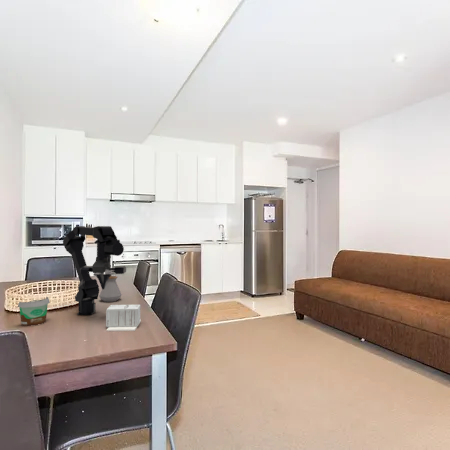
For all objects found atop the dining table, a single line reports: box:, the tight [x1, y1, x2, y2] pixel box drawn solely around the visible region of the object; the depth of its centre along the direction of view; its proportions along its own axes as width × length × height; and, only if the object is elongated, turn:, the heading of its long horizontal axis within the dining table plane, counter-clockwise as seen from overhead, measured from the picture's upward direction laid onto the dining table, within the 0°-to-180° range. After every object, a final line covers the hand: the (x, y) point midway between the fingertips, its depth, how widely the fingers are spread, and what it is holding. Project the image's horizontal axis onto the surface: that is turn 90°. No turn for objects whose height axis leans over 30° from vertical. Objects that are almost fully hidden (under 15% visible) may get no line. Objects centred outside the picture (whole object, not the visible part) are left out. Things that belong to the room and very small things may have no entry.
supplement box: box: [105, 304, 141, 328], centre depth 134 cm, size 7×7×13 cm
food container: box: [17, 296, 50, 327], centre depth 135 cm, size 12×6×10 cm, turn 148°
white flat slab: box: [106, 319, 142, 332], centre depth 134 cm, size 11×13×1 cm
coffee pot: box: [98, 274, 123, 303], centre depth 181 cm, size 21×12×15 cm, turn 20°
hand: (103, 289), depth 144 cm, fingers closed
